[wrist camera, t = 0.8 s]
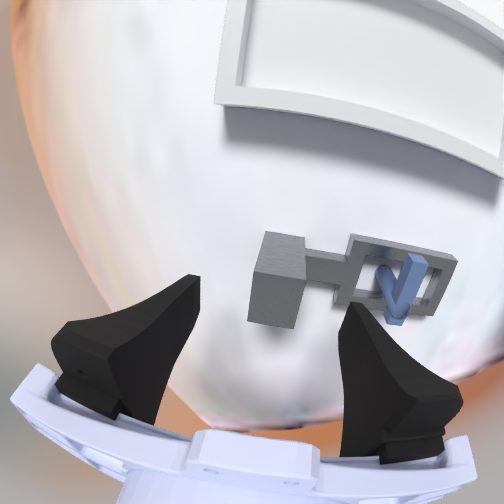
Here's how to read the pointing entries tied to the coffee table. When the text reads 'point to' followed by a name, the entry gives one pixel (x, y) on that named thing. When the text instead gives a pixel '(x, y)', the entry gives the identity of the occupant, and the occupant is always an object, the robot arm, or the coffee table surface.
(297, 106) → the tray
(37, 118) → the coffee table surface
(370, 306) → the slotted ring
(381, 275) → the t-stake
